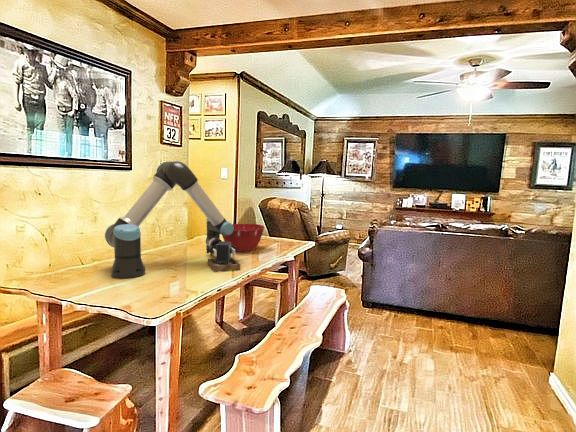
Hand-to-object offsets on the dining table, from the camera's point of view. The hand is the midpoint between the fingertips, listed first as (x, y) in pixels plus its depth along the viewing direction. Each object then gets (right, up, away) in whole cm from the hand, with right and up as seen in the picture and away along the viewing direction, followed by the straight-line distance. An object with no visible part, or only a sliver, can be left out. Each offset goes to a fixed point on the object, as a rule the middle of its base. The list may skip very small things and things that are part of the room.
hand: (225, 253), depth 195 cm
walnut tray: (-2, -8, +5) cm, 10 cm away
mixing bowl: (+2, -3, +51) cm, 51 cm away
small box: (-2, -6, +5) cm, 8 cm away
